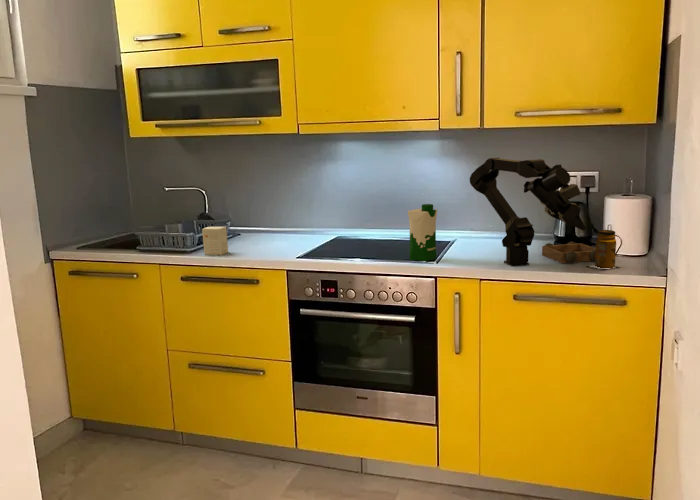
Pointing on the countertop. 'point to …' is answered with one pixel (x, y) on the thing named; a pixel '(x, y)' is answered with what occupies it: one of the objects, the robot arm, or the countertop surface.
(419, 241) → the milk carton
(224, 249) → the small box
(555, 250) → the chassis bay
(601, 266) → the condiment
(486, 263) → the countertop surface
